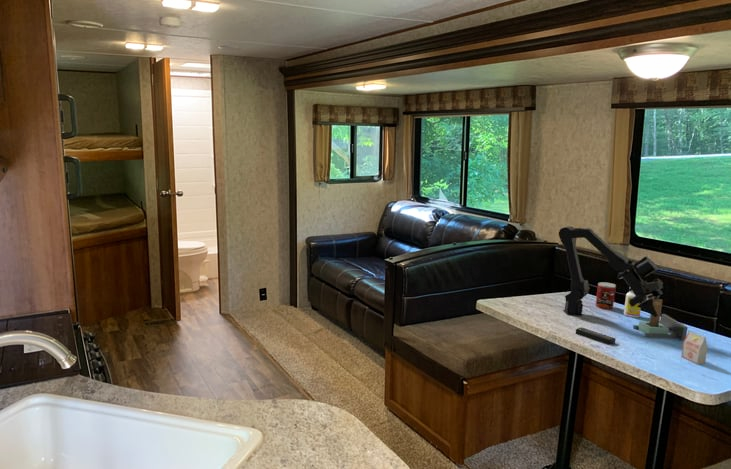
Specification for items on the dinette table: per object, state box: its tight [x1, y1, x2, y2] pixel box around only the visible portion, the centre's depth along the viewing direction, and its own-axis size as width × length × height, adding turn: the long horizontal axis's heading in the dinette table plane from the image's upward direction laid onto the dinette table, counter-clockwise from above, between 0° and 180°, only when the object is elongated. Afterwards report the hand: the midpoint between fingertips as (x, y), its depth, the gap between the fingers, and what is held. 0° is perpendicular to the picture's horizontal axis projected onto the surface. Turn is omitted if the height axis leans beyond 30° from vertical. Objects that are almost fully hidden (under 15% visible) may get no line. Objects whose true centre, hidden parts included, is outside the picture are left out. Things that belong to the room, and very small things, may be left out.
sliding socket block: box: [637, 320, 669, 335], centre depth 226 cm, size 8×8×4 cm
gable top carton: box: [680, 330, 708, 365], centre depth 199 cm, size 4×7×10 cm, turn 17°
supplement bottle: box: [623, 287, 642, 319], centre depth 248 cm, size 7×7×13 cm
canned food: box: [595, 281, 617, 310], centre depth 260 cm, size 8×8×11 cm
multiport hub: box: [575, 327, 617, 346], centre depth 218 cm, size 4×14×2 cm, turn 39°
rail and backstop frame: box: [632, 313, 688, 342], centre depth 226 cm, size 14×16×6 cm
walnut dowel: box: [648, 298, 663, 327], centre depth 225 cm, size 4×4×13 cm
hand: (658, 315), depth 224 cm, fingers closed on walnut dowel, 3 cm apart
